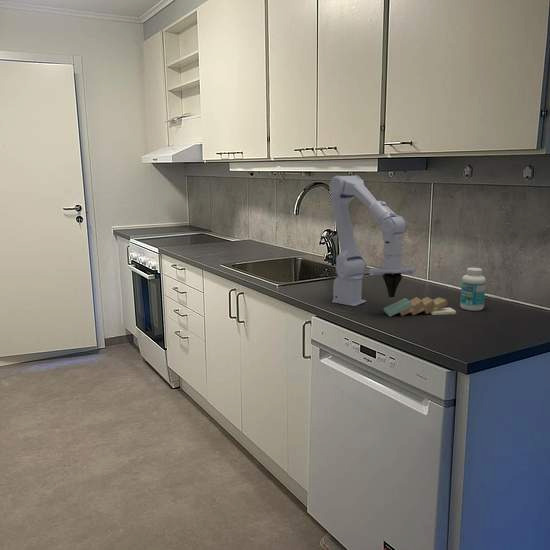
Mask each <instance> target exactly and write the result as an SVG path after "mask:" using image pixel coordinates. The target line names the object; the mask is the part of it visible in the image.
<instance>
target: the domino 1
mask: <svg viewBox="0 0 550 550" xmlns="http://www.w3.org/2000/svg"><path fill="white" fill-rule="evenodd" d="M411 306H412V304H411V302H410V300H409V299H408V298H407V297H404V298H402V299H400V300H398V301H396V302H394V303H392V304H390V305H388V306H385V307H384V308H383V311H384V313H385V314H386V315H387V316H388V317H392V316H395V315H397V314H399V312H401V311H403V310H405V309H407V308H409V307H411Z"/></svg>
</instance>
